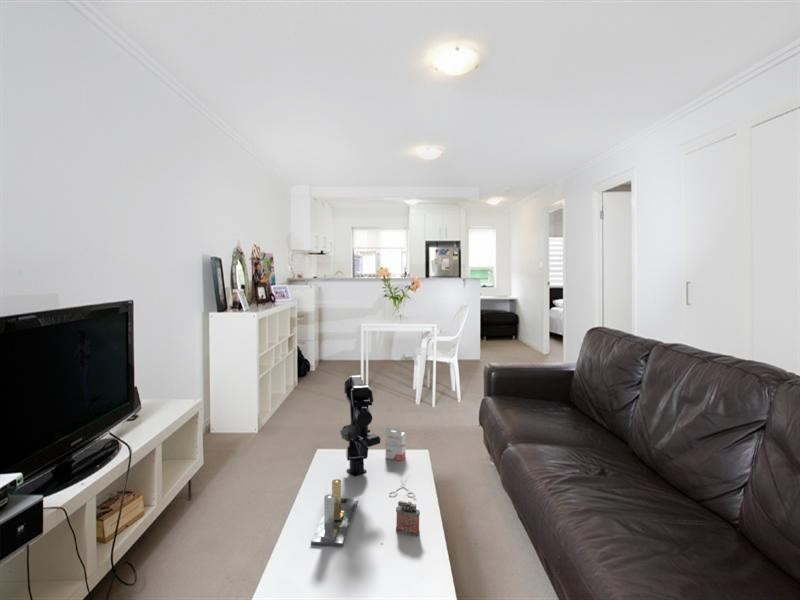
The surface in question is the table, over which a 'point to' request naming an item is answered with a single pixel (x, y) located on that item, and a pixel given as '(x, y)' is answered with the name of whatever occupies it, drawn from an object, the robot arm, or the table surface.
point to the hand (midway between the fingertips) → (360, 455)
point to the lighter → (407, 519)
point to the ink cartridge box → (395, 443)
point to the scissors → (404, 488)
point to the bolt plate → (334, 523)
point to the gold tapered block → (337, 499)
